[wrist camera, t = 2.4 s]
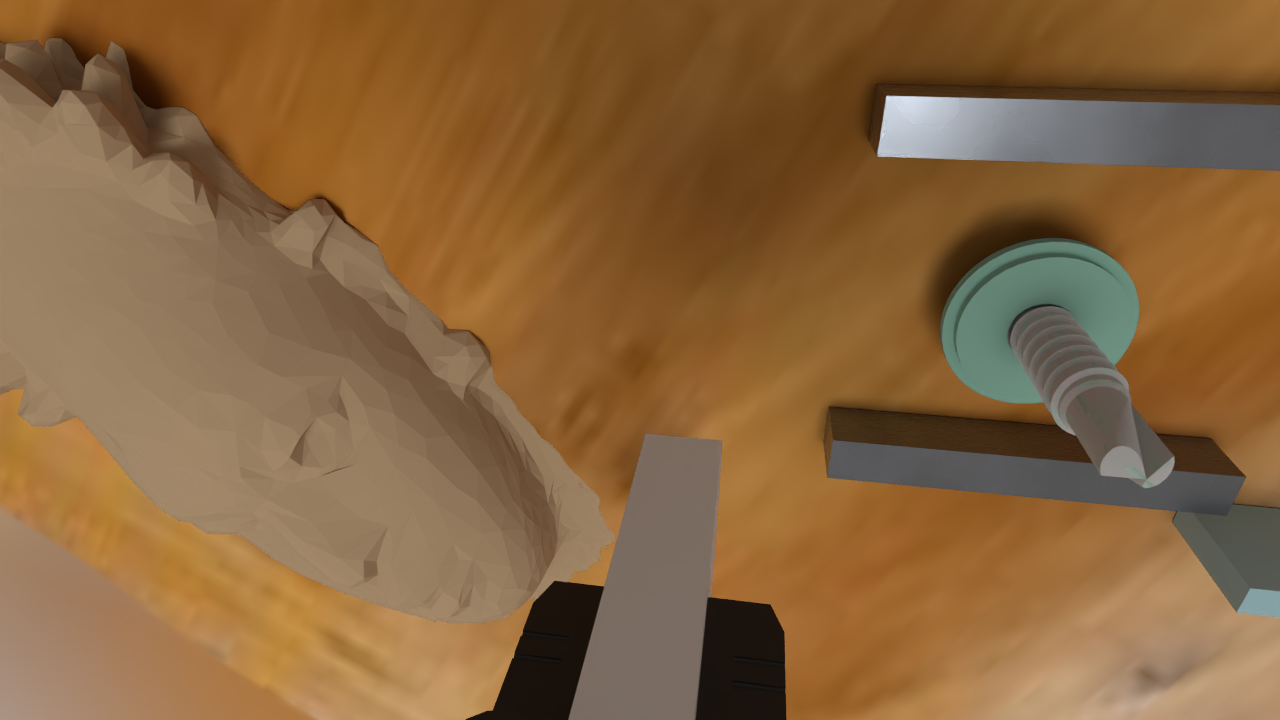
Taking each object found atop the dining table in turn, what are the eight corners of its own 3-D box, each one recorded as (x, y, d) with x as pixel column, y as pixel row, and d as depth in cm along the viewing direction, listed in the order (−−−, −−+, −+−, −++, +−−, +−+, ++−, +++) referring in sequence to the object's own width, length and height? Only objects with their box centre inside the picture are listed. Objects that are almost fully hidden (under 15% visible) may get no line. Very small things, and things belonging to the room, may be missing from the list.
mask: (456, 796, 29) (-290, 340, 24) (511, 656, 35) (-77, 262, 29) (700, 638, 22) (-290, -77, 16) (718, 494, 28) (-7, -72, 22)
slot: (876, 84, 20) (886, 96, 18) (1370, 94, 18) (1432, 109, 16) (823, 442, 26) (827, 477, 24) (1193, 475, 24) (1226, 516, 22)
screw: (905, 258, 22) (1083, 187, 20) (956, 388, 24) (1124, 333, 22) (977, 421, 14) (1277, 329, 12) (1045, 596, 16) (1314, 537, 14)
